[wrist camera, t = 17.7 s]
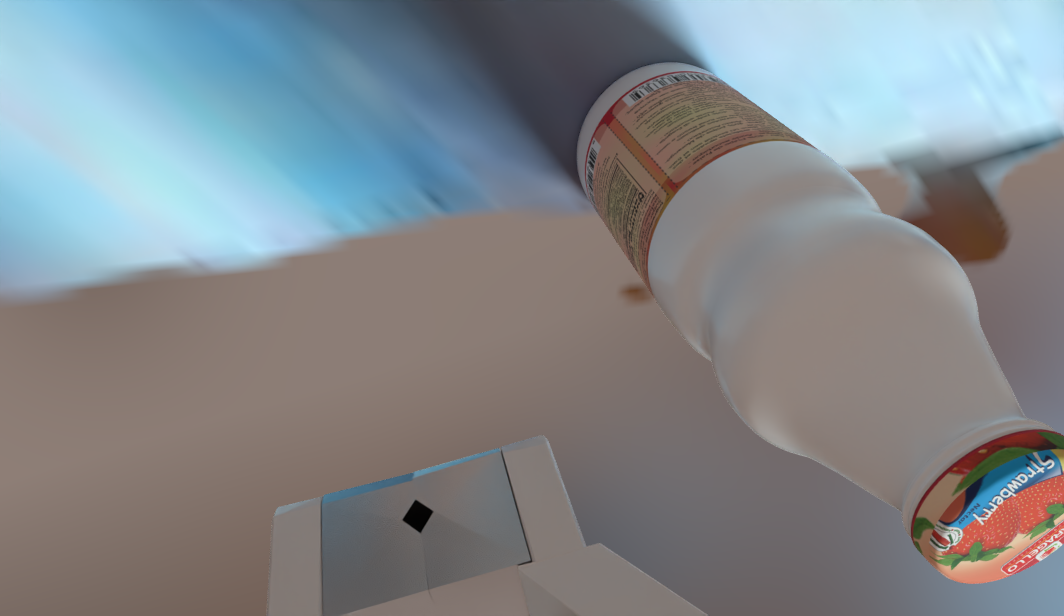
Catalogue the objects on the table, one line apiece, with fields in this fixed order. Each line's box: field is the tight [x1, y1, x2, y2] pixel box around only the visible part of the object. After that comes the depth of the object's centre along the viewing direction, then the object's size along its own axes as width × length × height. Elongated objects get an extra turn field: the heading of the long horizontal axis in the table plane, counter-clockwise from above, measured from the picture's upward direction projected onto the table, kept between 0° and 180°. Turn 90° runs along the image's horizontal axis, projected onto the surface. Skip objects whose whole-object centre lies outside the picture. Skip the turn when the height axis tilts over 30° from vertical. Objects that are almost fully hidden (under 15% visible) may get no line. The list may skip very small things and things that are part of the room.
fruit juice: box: [577, 62, 1064, 584], centre depth 33 cm, size 9×9×28 cm
